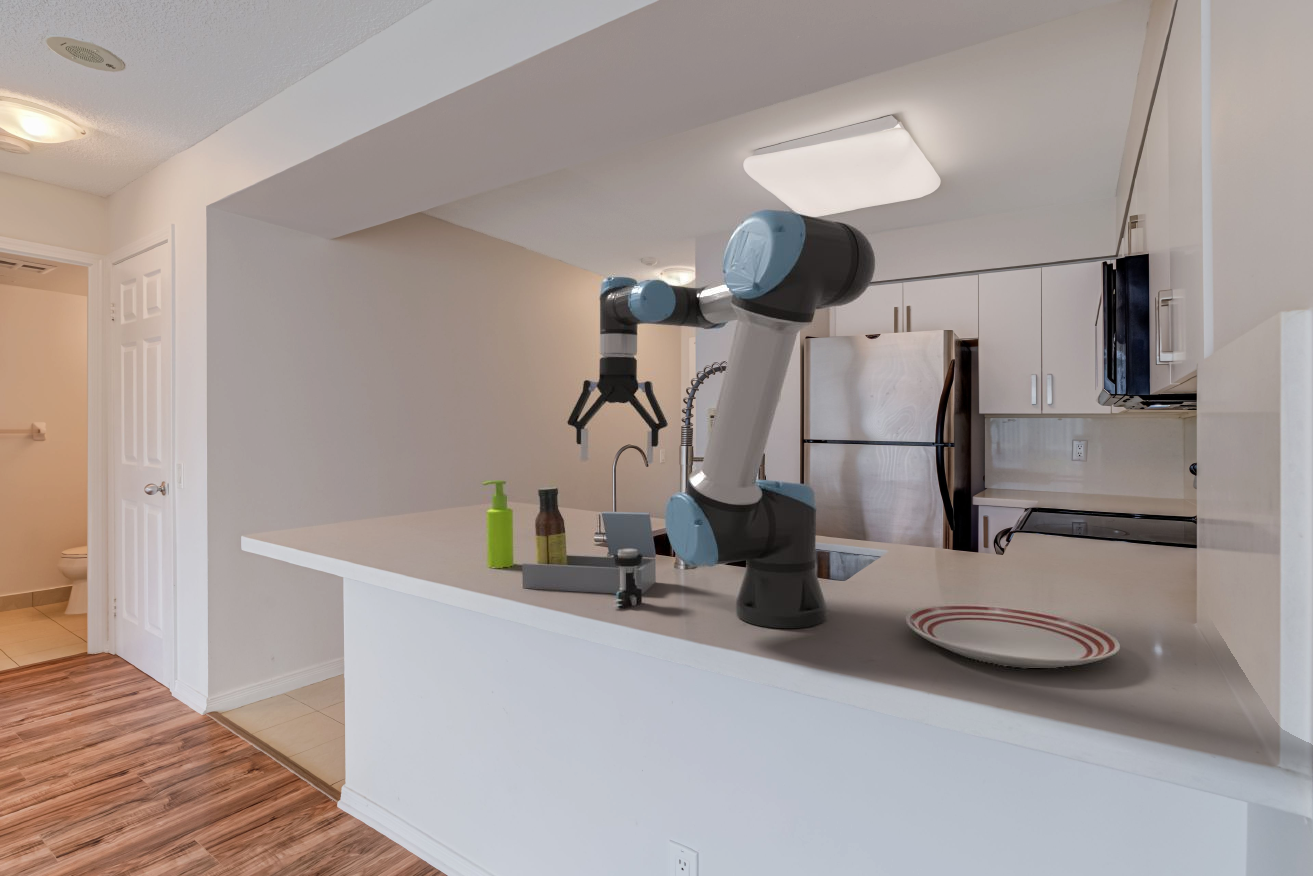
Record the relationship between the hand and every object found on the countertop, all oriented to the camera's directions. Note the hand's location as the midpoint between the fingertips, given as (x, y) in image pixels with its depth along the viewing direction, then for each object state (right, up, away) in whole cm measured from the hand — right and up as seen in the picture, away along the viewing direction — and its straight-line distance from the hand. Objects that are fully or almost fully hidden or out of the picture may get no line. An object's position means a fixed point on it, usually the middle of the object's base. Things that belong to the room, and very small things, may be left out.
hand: (616, 461), depth 134 cm
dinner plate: (+59, -26, -38) cm, 75 cm away
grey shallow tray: (-6, -25, +1) cm, 26 cm away
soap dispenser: (-29, -25, +20) cm, 43 cm away
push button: (+3, -26, -14) cm, 30 cm away
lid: (+2, -15, +1) cm, 15 cm away
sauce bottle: (-14, -26, +3) cm, 29 cm away
